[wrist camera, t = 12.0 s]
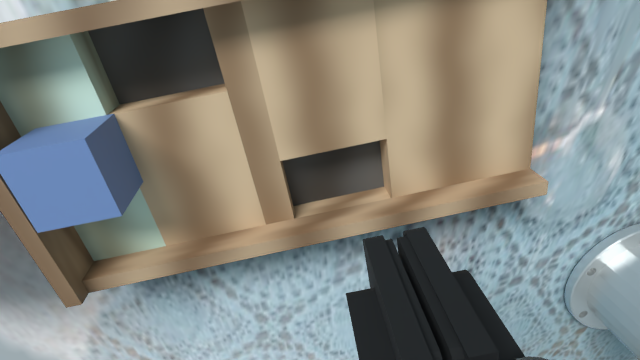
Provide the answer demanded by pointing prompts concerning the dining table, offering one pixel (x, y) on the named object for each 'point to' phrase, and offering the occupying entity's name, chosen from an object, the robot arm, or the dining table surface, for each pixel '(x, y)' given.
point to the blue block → (71, 173)
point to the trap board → (274, 122)
